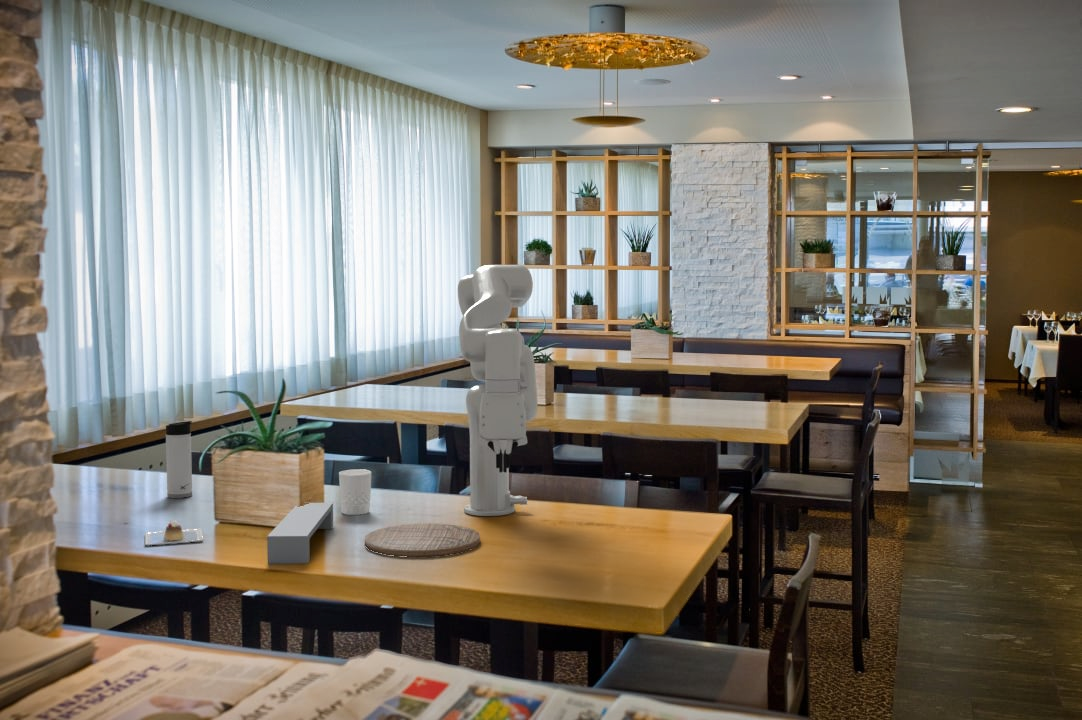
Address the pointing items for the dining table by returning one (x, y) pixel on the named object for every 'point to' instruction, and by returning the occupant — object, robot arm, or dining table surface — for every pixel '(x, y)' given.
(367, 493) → the white cup
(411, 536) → the trivet
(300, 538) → the bridge
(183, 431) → the travel mug
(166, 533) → the dessert
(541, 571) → the dining table surface
